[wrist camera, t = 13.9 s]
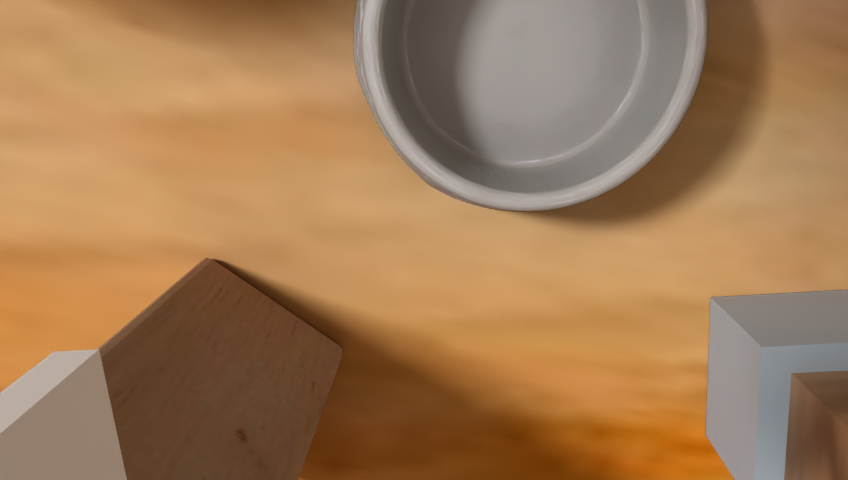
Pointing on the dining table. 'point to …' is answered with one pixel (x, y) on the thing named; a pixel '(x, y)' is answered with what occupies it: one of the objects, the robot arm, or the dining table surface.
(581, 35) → the dog bowl
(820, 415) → the walnut block
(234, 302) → the wooden block
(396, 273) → the dining table surface
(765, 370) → the slate block
